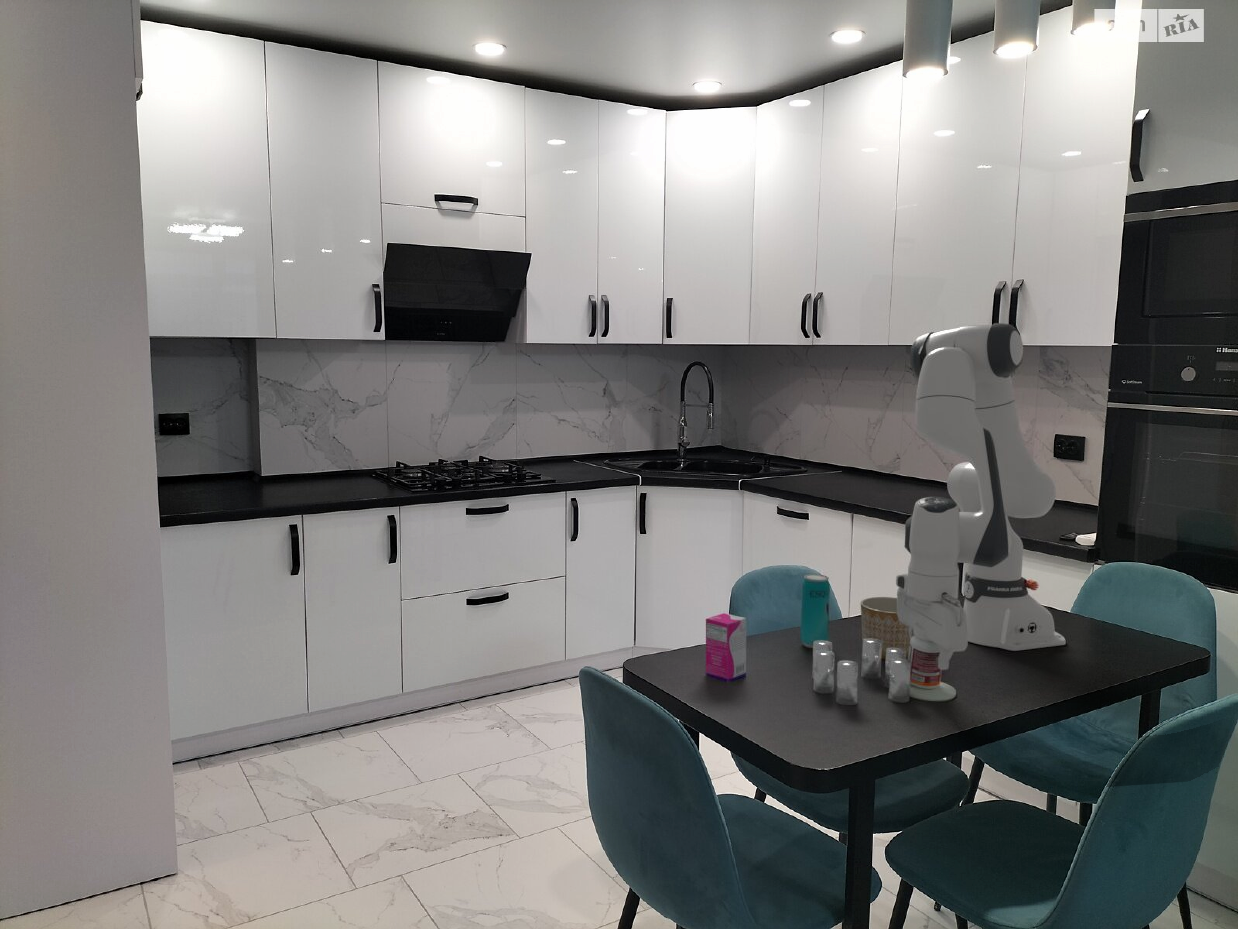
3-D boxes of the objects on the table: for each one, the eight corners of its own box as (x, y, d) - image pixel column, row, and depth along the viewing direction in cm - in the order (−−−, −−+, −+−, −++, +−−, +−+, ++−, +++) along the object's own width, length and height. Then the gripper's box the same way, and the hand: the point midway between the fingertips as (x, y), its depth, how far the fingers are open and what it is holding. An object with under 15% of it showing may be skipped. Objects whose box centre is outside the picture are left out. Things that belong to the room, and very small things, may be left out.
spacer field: (885, 672, 178) (886, 637, 177) (923, 701, 162) (925, 664, 162) (799, 676, 175) (800, 641, 174) (830, 706, 160) (831, 668, 159)
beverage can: (830, 649, 192) (832, 580, 190) (803, 649, 192) (805, 580, 190) (824, 641, 197) (827, 574, 196) (798, 640, 197) (800, 573, 196)
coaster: (938, 680, 173) (939, 677, 173) (966, 699, 164) (966, 696, 163) (889, 683, 172) (889, 679, 172) (914, 702, 162) (914, 699, 162)
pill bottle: (946, 689, 167) (953, 632, 164) (915, 691, 166) (923, 634, 163) (928, 673, 173) (936, 618, 170) (899, 675, 172) (906, 620, 169)
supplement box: (722, 668, 179) (724, 612, 178) (746, 675, 175) (748, 618, 174) (704, 675, 175) (705, 617, 174) (728, 683, 171) (729, 624, 170)
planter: (932, 653, 190) (934, 605, 188) (902, 667, 181) (904, 616, 180) (878, 640, 199) (880, 593, 197) (847, 652, 190) (848, 604, 189)
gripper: (979, 601, 156) (975, 678, 157) (922, 573, 176) (919, 642, 177) (945, 602, 155) (941, 680, 156) (891, 574, 175) (888, 643, 176)
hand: (929, 660), depth 167 cm, fingers open, 8 cm apart
